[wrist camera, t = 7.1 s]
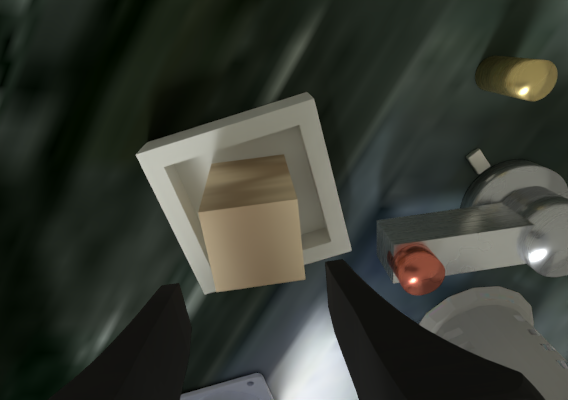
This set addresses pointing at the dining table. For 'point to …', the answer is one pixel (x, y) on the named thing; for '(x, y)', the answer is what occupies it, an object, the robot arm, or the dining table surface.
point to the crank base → (515, 173)
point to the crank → (476, 240)
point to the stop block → (251, 224)
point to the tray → (238, 146)
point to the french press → (500, 335)
